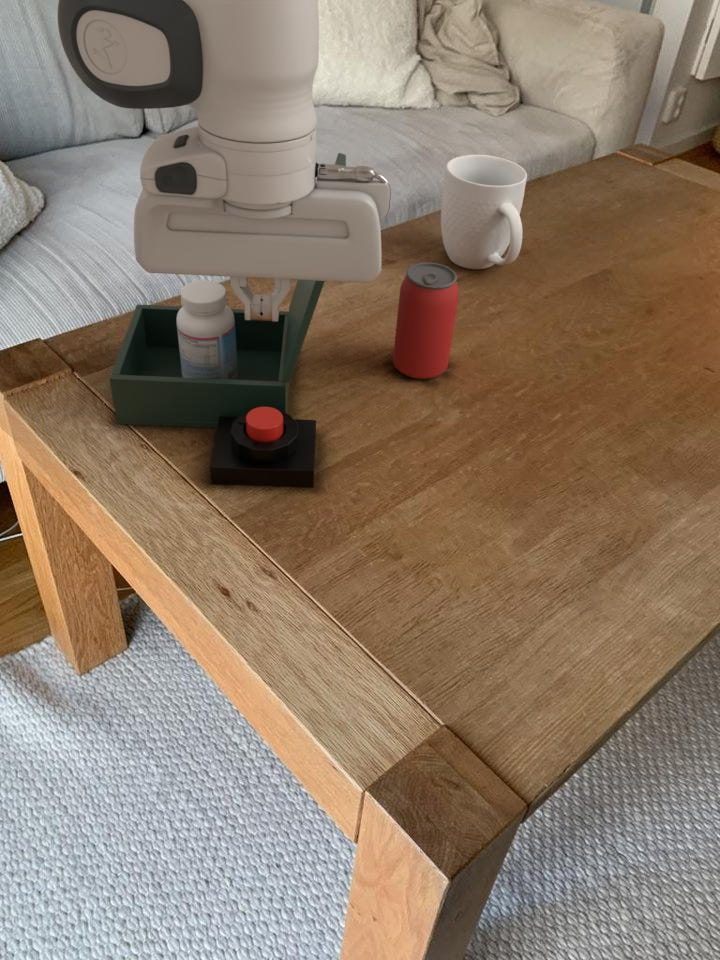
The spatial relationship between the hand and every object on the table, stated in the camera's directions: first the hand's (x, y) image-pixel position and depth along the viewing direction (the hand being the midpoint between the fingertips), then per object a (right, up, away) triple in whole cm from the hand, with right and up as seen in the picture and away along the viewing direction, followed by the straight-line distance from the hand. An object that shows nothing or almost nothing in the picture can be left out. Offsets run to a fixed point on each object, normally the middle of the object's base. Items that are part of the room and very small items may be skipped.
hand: (262, 317), depth 72 cm
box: (-8, -4, +19) cm, 21 cm away
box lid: (+4, +7, +10) cm, 12 cm away
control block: (-1, -12, +11) cm, 16 cm away
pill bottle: (-8, -3, +19) cm, 21 cm away
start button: (-1, -10, +8) cm, 13 cm away
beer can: (+16, -1, +25) cm, 30 cm away
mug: (+25, +17, +46) cm, 55 cm away
